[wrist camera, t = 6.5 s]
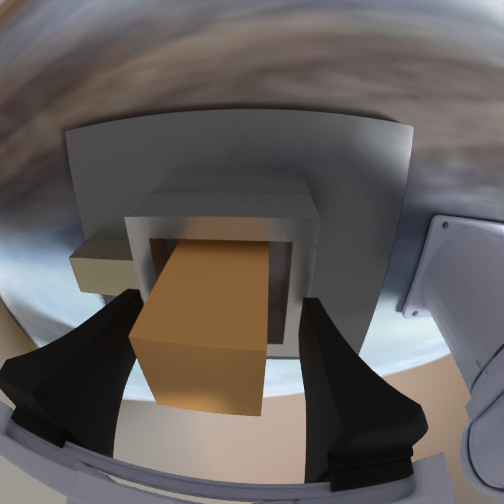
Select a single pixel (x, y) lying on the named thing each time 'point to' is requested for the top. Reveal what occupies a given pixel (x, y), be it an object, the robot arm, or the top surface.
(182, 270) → the wedge pin
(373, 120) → the grey socket base
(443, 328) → the robot arm
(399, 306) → the top surface
